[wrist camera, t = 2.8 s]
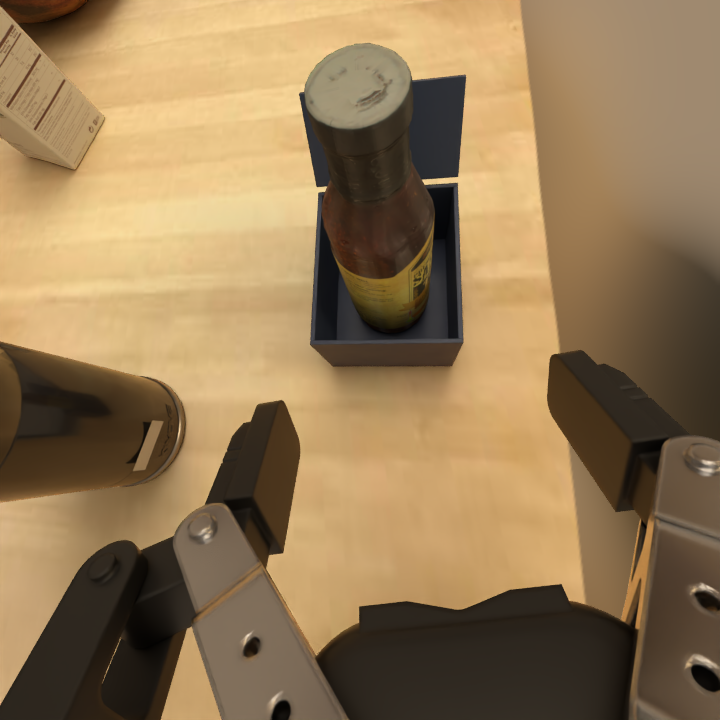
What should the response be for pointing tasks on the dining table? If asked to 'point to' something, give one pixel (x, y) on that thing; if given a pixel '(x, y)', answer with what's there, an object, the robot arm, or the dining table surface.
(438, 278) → the carton
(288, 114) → the dining table surface
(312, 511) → the dining table surface
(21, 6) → the jug
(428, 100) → the flap
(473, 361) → the dining table surface
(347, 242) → the sauce bottle
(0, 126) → the white packaging box
